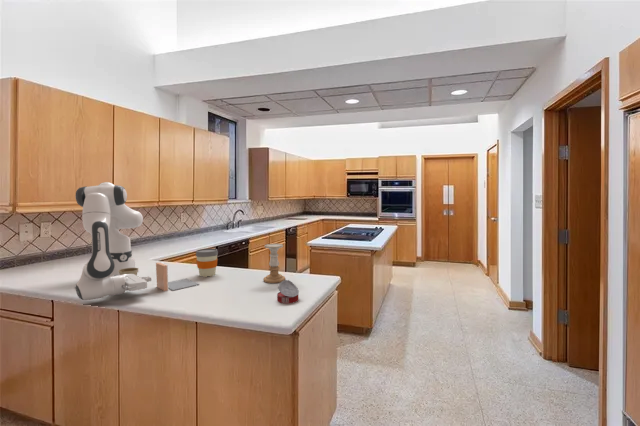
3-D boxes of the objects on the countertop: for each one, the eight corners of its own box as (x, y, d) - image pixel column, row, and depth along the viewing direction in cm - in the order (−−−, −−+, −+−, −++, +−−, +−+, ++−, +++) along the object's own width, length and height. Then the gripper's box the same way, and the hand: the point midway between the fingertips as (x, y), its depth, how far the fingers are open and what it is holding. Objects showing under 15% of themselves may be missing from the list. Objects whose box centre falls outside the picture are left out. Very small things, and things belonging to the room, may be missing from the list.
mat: (160, 284, 172) (160, 283, 172) (186, 279, 182) (186, 278, 182) (172, 290, 161) (172, 289, 161) (199, 284, 171) (199, 283, 171)
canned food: (294, 306, 152) (303, 287, 153) (293, 311, 142) (303, 291, 143) (273, 295, 152) (283, 276, 152) (270, 300, 142) (281, 280, 142)
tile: (156, 287, 168) (155, 262, 167) (160, 286, 169) (159, 262, 168) (164, 291, 161) (163, 265, 160) (168, 290, 162) (167, 265, 161)
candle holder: (261, 283, 173) (260, 246, 172) (265, 277, 186) (265, 243, 184) (283, 283, 173) (283, 246, 172) (286, 277, 185) (286, 243, 184)
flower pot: (143, 284, 172) (142, 268, 172) (125, 289, 164) (124, 272, 164) (133, 282, 177) (132, 266, 176) (115, 286, 169) (114, 270, 168)
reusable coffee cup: (214, 277, 185) (213, 252, 184) (192, 277, 185) (192, 252, 184) (221, 272, 198) (220, 248, 197) (201, 272, 198) (200, 248, 197)
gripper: (125, 282, 143) (157, 276, 153) (112, 274, 157) (143, 269, 167) (126, 296, 143) (158, 289, 154) (113, 286, 157) (143, 280, 167)
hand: (150, 278), depth 160 cm, fingers closed
